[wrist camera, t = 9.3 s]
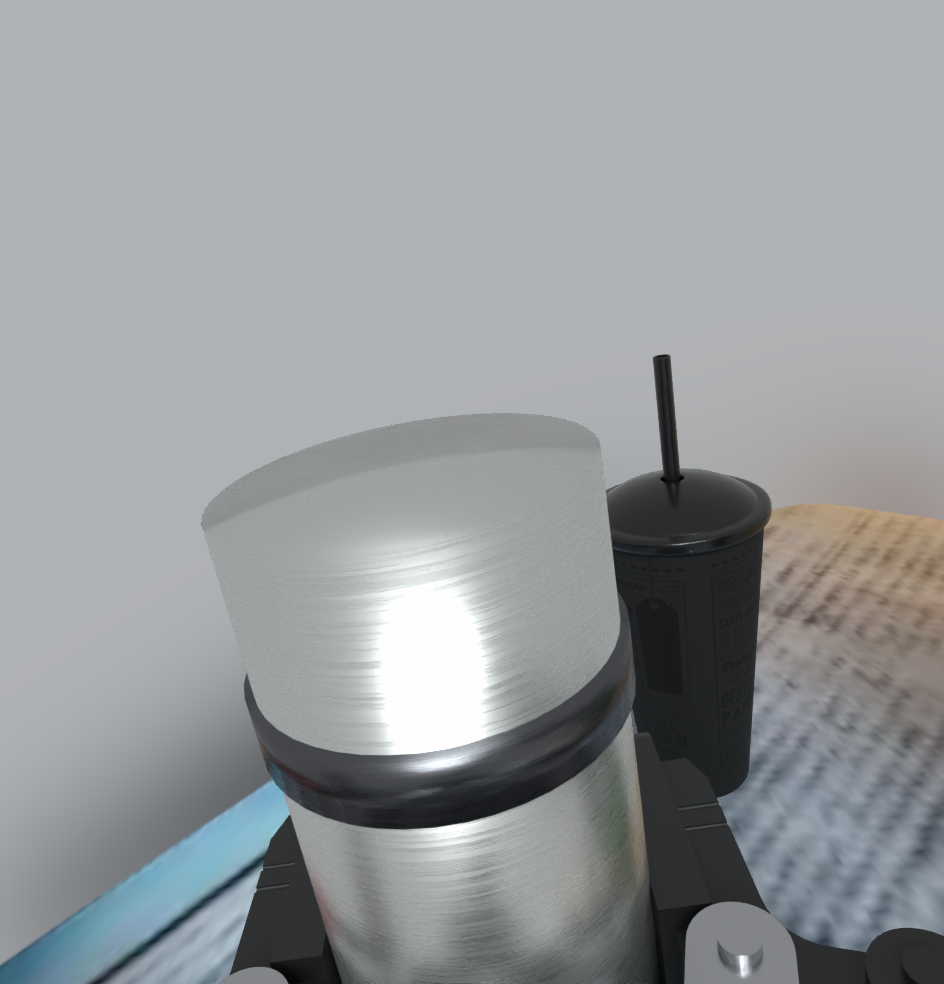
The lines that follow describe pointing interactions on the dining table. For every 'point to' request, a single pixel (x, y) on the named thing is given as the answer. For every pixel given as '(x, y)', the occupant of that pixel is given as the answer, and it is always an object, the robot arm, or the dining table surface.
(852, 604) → the dining table surface
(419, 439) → the steel tube
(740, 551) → the drinking cup
